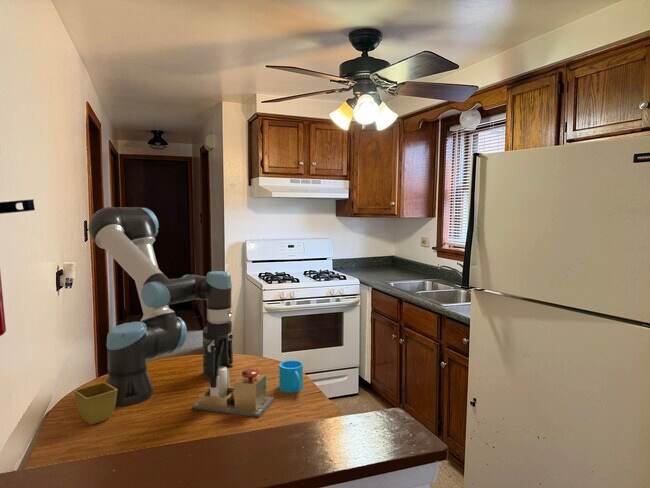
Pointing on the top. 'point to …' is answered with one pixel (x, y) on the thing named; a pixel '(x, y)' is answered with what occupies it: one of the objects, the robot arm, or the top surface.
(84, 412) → the flower pot
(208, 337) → the coffee jar
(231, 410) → the red push button box
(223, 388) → the white rounded cylinder
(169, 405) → the top surface
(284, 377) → the mug
